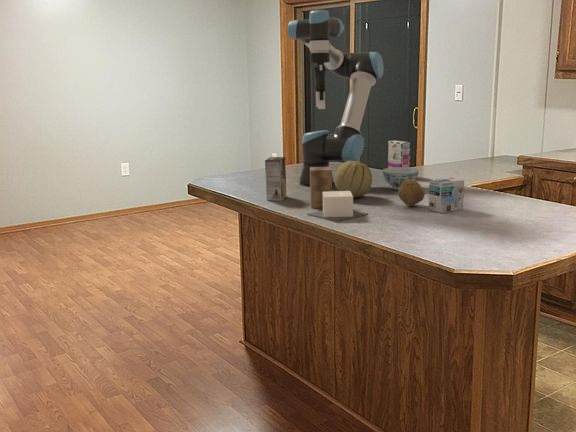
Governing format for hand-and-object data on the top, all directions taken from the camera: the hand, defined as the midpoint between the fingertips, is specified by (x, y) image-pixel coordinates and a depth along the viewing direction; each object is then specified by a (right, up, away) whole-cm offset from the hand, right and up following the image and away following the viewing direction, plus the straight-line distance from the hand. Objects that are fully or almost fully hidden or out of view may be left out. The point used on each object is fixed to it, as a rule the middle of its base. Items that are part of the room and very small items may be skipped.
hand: (320, 108), depth 243 cm
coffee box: (-17, -36, +2) cm, 40 cm away
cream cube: (+4, -42, -28) cm, 51 cm away
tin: (0, -39, -13) cm, 41 cm away
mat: (+4, -42, -28) cm, 51 cm away
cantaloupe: (+13, -36, 0) cm, 38 cm away
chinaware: (+34, -31, +16) cm, 49 cm away
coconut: (+32, -39, -18) cm, 54 cm away
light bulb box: (+43, -41, -25) cm, 64 cm away
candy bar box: (+39, -25, +43) cm, 63 cm away
